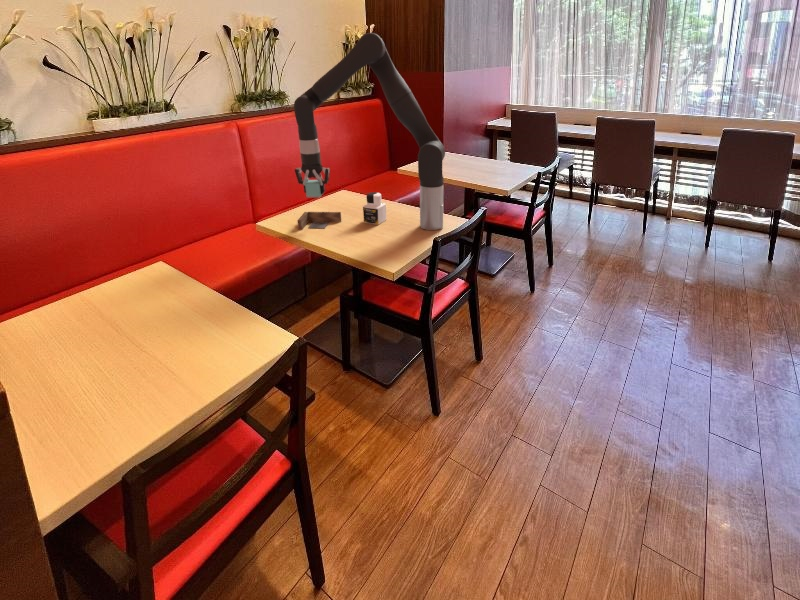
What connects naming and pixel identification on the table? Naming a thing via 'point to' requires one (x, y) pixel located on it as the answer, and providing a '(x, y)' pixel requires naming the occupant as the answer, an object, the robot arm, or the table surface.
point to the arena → (318, 219)
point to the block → (313, 188)
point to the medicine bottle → (374, 209)
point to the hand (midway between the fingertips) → (314, 193)
